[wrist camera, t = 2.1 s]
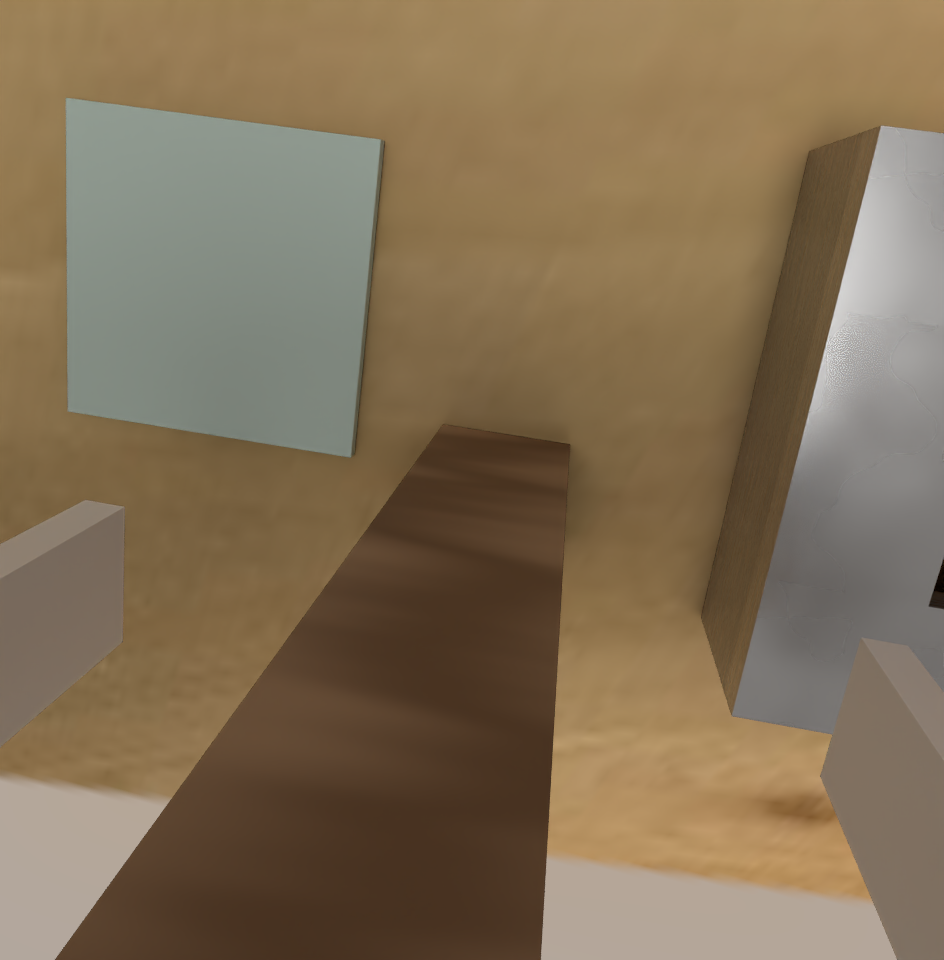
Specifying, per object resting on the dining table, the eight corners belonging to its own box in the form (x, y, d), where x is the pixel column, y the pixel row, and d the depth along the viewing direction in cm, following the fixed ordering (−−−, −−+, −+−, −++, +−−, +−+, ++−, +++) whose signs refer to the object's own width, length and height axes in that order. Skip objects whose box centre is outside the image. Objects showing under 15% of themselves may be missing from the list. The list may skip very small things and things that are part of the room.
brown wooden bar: (428, 542, 24) (25, 1353, 7) (443, 424, 23) (15, 1013, 6) (549, 563, 23) (461, 1464, 6) (569, 444, 22) (531, 1129, 5)
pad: (75, 408, 24) (67, 411, 24) (74, 100, 22) (65, 98, 21) (354, 453, 23) (350, 457, 23) (384, 141, 21) (380, 139, 21)
